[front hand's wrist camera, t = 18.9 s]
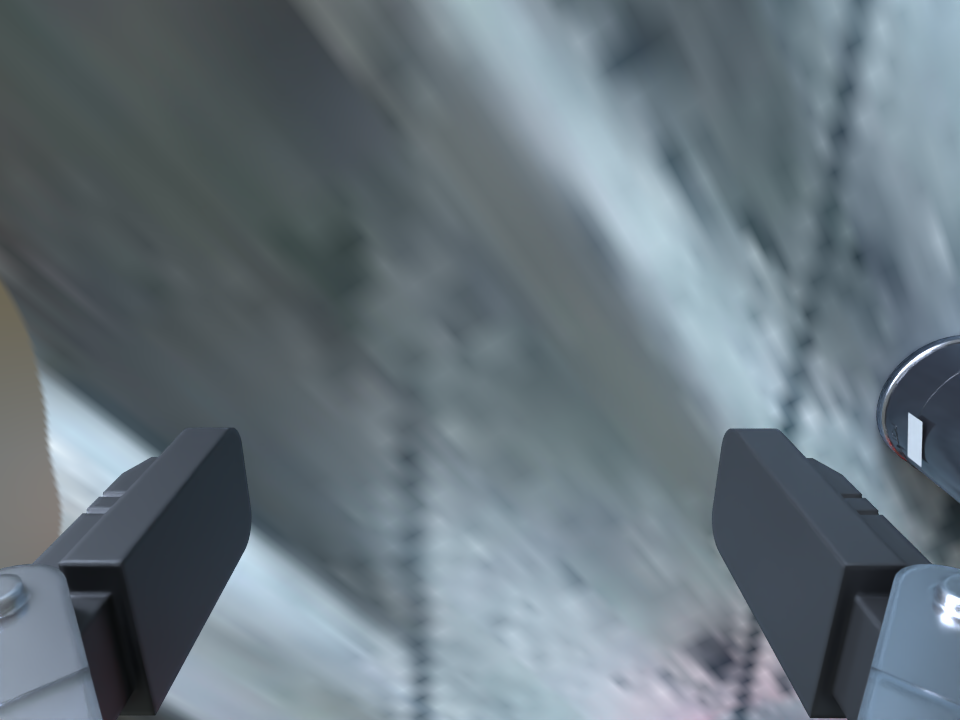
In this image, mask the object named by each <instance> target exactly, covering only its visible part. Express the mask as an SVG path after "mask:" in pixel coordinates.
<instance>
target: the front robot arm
mask: <svg viewBox="0 0 960 720" xmlns="http://www.w3.org/2000/svg"><path fill="white" fill-rule="evenodd" d="M877 425H878V429H879V432H880V434H881V436H882V438H883V440H884V442H885V443H886V444H887V446H888V447H889V448H890V449H891V450H892V451H894V452H895V453H896V454H897V455H899V456H900V457H901V458H902V459H904V460H905V461H907V462H908V463H910V464H911V465H912V466H913V467H915V468H916V469H918V470H919V471H921V472H922V473H923V474H924V475H926V476H927V477H928V478H929V479H930V480H932V481H933V482H934V483H935V484H937V485H938V486H939V487H940V488H942V489H943V490H944V491H945V492H947V493H948V494H949V495H950V496H951V497H953V498H954V499H955V500H956V501H958V502H959V503H960V335H958V336H951V337H946V338H943V339H939V340H937V341H934V342H932V343H929V344H927V345H925V346H923V347H922V348H920V349H918V350H917V351H915V352H914V353H912V354H911V355H910V356H908V357H907V358H906V359H905V360H904V361H903V362H902V363H900V364H899V366H898V367H897V368H896V369H895V370H894V371H893V373H892V374H891V375H890V377H889V378H888V380H887V381H886V383H885V385H884V387H883V389H882V391H881V394H880V397H879V400H878V405H877ZM712 527H713V535H714V539H715V543H716V546H717V549H718V551H719V553H720V554H721V556H722V558H723V560H724V562H725V564H726V565H727V567H728V569H729V571H730V573H731V575H732V576H733V578H734V580H735V582H736V584H737V586H738V587H739V589H740V591H741V593H742V595H743V596H744V598H745V600H746V602H747V604H748V606H749V607H750V609H751V611H752V613H753V615H754V617H755V618H756V620H757V622H758V624H759V626H760V628H761V629H762V631H763V633H764V635H765V637H766V638H767V640H768V642H769V644H770V646H771V648H772V649H773V651H774V653H775V655H776V657H777V659H778V660H779V662H780V664H781V666H782V668H783V670H784V671H785V673H786V675H787V677H788V679H789V681H790V682H791V684H792V686H793V688H794V690H795V691H796V693H797V695H798V697H799V699H800V701H801V702H802V704H803V706H804V708H805V710H806V712H807V713H808V715H809V717H810V718H847V719H848V720H960V569H958V568H954V567H949V566H944V565H936V564H931V563H930V562H929V561H928V560H927V559H926V558H925V557H924V556H923V555H922V554H921V553H920V552H919V551H918V550H917V549H916V548H915V547H914V546H913V545H912V544H911V543H910V542H909V541H908V540H907V539H906V538H905V537H904V536H903V535H902V534H901V533H900V532H899V531H898V530H897V529H896V528H895V527H894V526H893V525H892V524H891V523H890V522H889V521H888V520H887V519H886V518H885V517H884V516H883V515H879V514H878V510H877V509H876V508H875V507H874V506H873V505H872V504H871V503H870V502H869V501H868V500H867V499H866V498H862V494H861V493H860V492H859V491H858V490H857V489H856V488H855V487H854V486H853V485H852V484H851V483H850V482H849V481H848V480H847V479H846V478H845V477H844V476H843V475H842V474H840V473H838V472H836V471H834V470H833V469H831V468H829V467H827V466H825V465H824V464H822V463H820V462H818V461H817V460H815V459H813V458H806V457H805V456H804V455H803V454H802V453H801V452H800V451H799V450H798V449H797V448H796V447H795V446H794V445H793V444H792V443H791V442H790V440H789V439H788V438H787V437H786V436H785V435H784V434H783V433H782V432H781V431H780V430H778V429H729V430H728V431H727V432H726V433H725V435H724V438H723V442H722V447H721V454H720V461H719V468H718V475H717V482H716V489H715V496H714V503H713V511H712ZM250 530H251V505H250V498H249V491H248V484H247V477H246V470H245V463H244V456H243V449H242V442H241V438H240V435H239V433H238V431H237V430H236V429H235V428H186V429H184V430H183V431H182V432H181V433H180V434H179V435H178V436H177V438H176V439H175V440H174V441H173V442H172V443H171V444H170V445H169V446H168V447H167V448H166V449H165V450H164V451H163V452H162V453H161V455H160V456H159V457H151V458H149V459H147V460H146V461H144V462H142V463H140V464H139V465H137V466H135V467H133V468H131V469H130V470H128V471H126V472H124V473H123V474H121V475H120V476H119V477H118V478H117V479H116V480H115V481H114V482H113V483H112V484H111V485H110V486H109V487H108V488H107V489H106V490H105V491H104V492H103V497H98V498H97V499H96V500H95V501H94V503H93V504H92V505H91V506H90V507H89V508H88V509H87V513H83V514H82V515H81V516H80V517H79V518H78V519H77V520H76V521H75V522H74V523H73V524H72V525H71V526H70V527H69V528H68V529H67V530H66V531H65V532H64V533H63V534H62V535H61V536H60V537H59V538H58V539H57V540H56V541H55V542H54V543H53V544H52V545H51V546H50V547H49V548H48V549H47V550H46V551H45V552H44V553H43V554H42V555H41V556H40V557H39V558H38V559H37V560H36V561H35V562H34V563H33V564H24V565H16V566H11V567H6V568H2V569H0V720H117V718H118V716H119V715H156V713H157V711H158V710H159V708H160V706H161V704H162V702H163V700H164V699H165V697H166V695H167V693H168V691H169V689H170V687H171V686H172V684H173V682H174V680H175V678H176V676H177V675H178V673H179V671H180V669H181V667H182V665H183V663H184V662H185V660H186V658H187V656H188V654H189V652H190V650H191V649H192V647H193V645H194V643H195V641H196V639H197V638H198V636H199V634H200V632H201V630H202V628H203V626H204V625H205V623H206V621H207V619H208V617H209V615H210V613H211V612H212V610H213V608H214V606H215V604H216V602H217V601H218V599H219V597H220V595H221V593H222V591H223V589H224V588H225V586H226V584H227V582H228V580H229V578H230V577H231V575H232V573H233V571H234V569H235V567H236V565H237V564H238V562H239V560H240V558H241V556H242V554H243V552H244V551H245V549H246V546H247V543H248V540H249V536H250Z"/></svg>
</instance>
